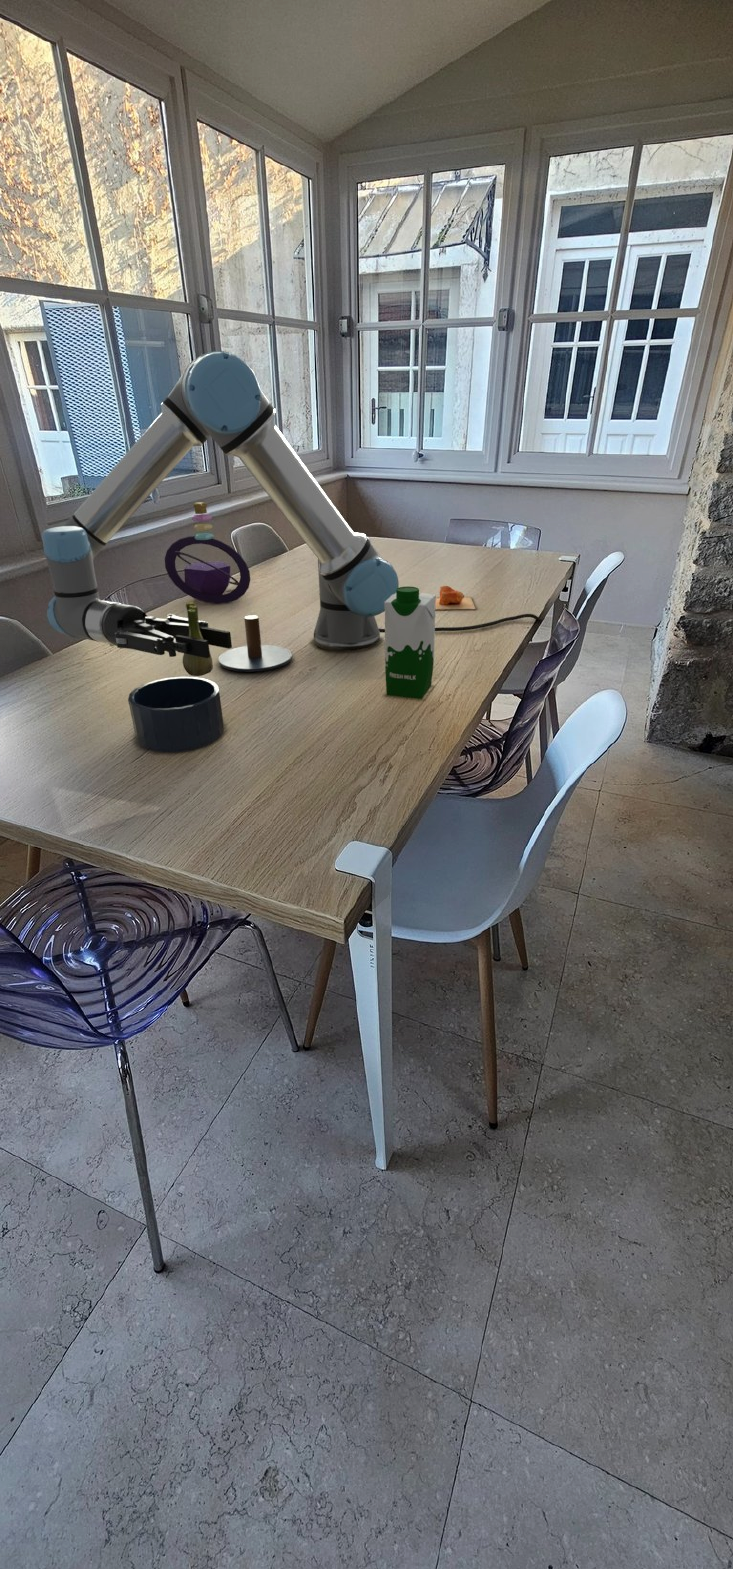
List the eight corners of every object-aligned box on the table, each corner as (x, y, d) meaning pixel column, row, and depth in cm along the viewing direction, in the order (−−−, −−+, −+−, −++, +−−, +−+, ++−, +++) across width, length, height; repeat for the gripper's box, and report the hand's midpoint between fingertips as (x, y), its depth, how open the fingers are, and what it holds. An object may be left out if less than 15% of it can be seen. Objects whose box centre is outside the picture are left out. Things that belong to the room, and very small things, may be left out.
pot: (208, 709, 128) (202, 671, 124) (236, 739, 117) (231, 698, 113) (127, 727, 122) (119, 687, 118) (149, 760, 111) (140, 717, 107)
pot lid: (274, 645, 160) (271, 603, 155) (303, 665, 148) (301, 620, 143) (209, 657, 153) (203, 614, 148) (234, 679, 141) (228, 633, 137)
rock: (475, 609, 183) (476, 593, 181) (429, 610, 183) (429, 593, 181) (470, 597, 193) (471, 582, 191) (426, 598, 194) (426, 582, 192)
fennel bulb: (205, 680, 117) (196, 609, 111) (178, 679, 117) (167, 608, 112) (219, 668, 122) (210, 600, 116) (192, 667, 122) (183, 598, 116)
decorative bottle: (178, 610, 187) (163, 511, 174) (165, 592, 203) (150, 501, 191) (259, 600, 194) (250, 504, 182) (240, 584, 211) (231, 495, 199)
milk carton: (380, 696, 132) (379, 590, 122) (394, 680, 140) (394, 579, 130) (425, 702, 130) (428, 594, 120) (437, 685, 137) (441, 582, 127)
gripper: (158, 632, 133) (254, 651, 123) (83, 659, 120) (184, 683, 109) (152, 592, 129) (250, 609, 119) (73, 616, 116) (177, 637, 106)
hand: (218, 644), depth 114 cm, fingers closed on fennel bulb, 5 cm apart
